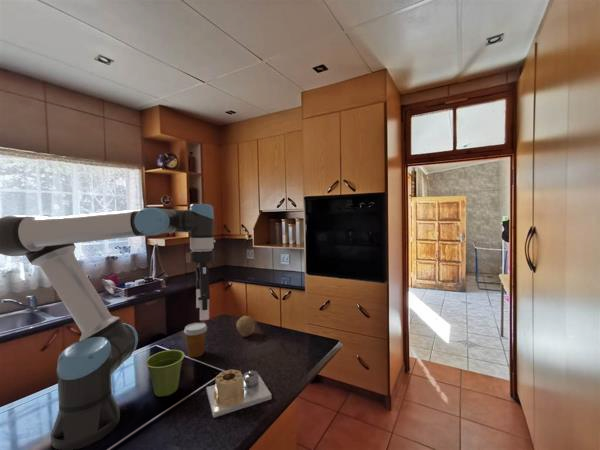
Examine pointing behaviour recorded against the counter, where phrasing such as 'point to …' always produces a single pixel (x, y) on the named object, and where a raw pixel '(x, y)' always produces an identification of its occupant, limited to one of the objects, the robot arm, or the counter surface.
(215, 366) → the counter surface
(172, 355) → the plant pot
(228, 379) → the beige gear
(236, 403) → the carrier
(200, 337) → the disposable coffee cup
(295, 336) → the counter surface
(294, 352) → the counter surface
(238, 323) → the natural sponge
